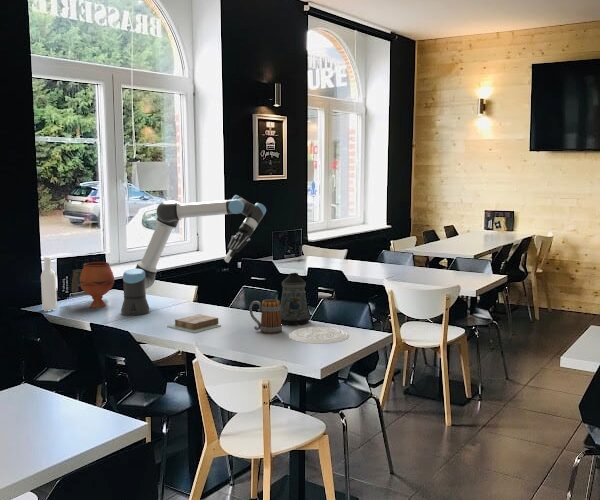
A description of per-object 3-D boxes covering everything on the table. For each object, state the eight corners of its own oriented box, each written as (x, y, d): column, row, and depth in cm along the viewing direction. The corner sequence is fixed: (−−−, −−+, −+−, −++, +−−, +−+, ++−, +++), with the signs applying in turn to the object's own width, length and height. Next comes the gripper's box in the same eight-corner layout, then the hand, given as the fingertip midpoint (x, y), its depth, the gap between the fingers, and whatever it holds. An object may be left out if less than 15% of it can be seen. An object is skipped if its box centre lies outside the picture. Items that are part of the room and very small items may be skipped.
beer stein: (281, 327, 320) (281, 277, 317) (272, 318, 339) (272, 271, 336) (313, 324, 325) (313, 275, 322) (303, 316, 343) (303, 270, 340)
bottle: (49, 308, 368) (46, 255, 365) (60, 309, 366) (58, 256, 362) (39, 311, 361) (36, 257, 357) (50, 312, 358) (48, 258, 355)
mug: (283, 329, 316) (283, 298, 314) (280, 334, 305) (280, 303, 304) (251, 328, 317) (251, 298, 316) (247, 333, 307) (247, 302, 305)
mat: (167, 326, 322) (167, 325, 322) (193, 320, 335) (193, 319, 335) (194, 332, 309) (194, 331, 309) (221, 326, 323) (221, 325, 323)
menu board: (199, 320, 334) (175, 325, 322) (199, 314, 334) (175, 319, 321) (218, 324, 325) (194, 330, 313) (218, 317, 325) (194, 323, 313)
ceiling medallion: (334, 327, 321) (334, 321, 320) (358, 341, 295) (358, 334, 294) (280, 332, 311) (280, 326, 311) (301, 347, 285) (301, 339, 285)
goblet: (82, 310, 361) (80, 266, 358) (79, 304, 379) (77, 262, 376) (117, 307, 368) (115, 264, 365) (113, 301, 386) (111, 260, 383)
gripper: (260, 232, 352) (238, 266, 341) (242, 231, 360) (221, 264, 349) (253, 223, 347) (231, 257, 336) (235, 222, 355) (213, 255, 344)
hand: (226, 260), depth 342 cm, fingers closed
